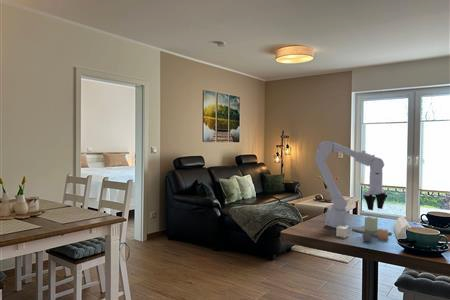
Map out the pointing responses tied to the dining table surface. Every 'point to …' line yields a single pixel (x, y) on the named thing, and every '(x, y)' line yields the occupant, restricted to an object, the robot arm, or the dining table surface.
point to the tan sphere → (382, 234)
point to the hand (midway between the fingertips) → (375, 209)
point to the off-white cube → (342, 231)
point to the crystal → (401, 227)
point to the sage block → (371, 224)
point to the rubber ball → (366, 237)
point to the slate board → (362, 230)
